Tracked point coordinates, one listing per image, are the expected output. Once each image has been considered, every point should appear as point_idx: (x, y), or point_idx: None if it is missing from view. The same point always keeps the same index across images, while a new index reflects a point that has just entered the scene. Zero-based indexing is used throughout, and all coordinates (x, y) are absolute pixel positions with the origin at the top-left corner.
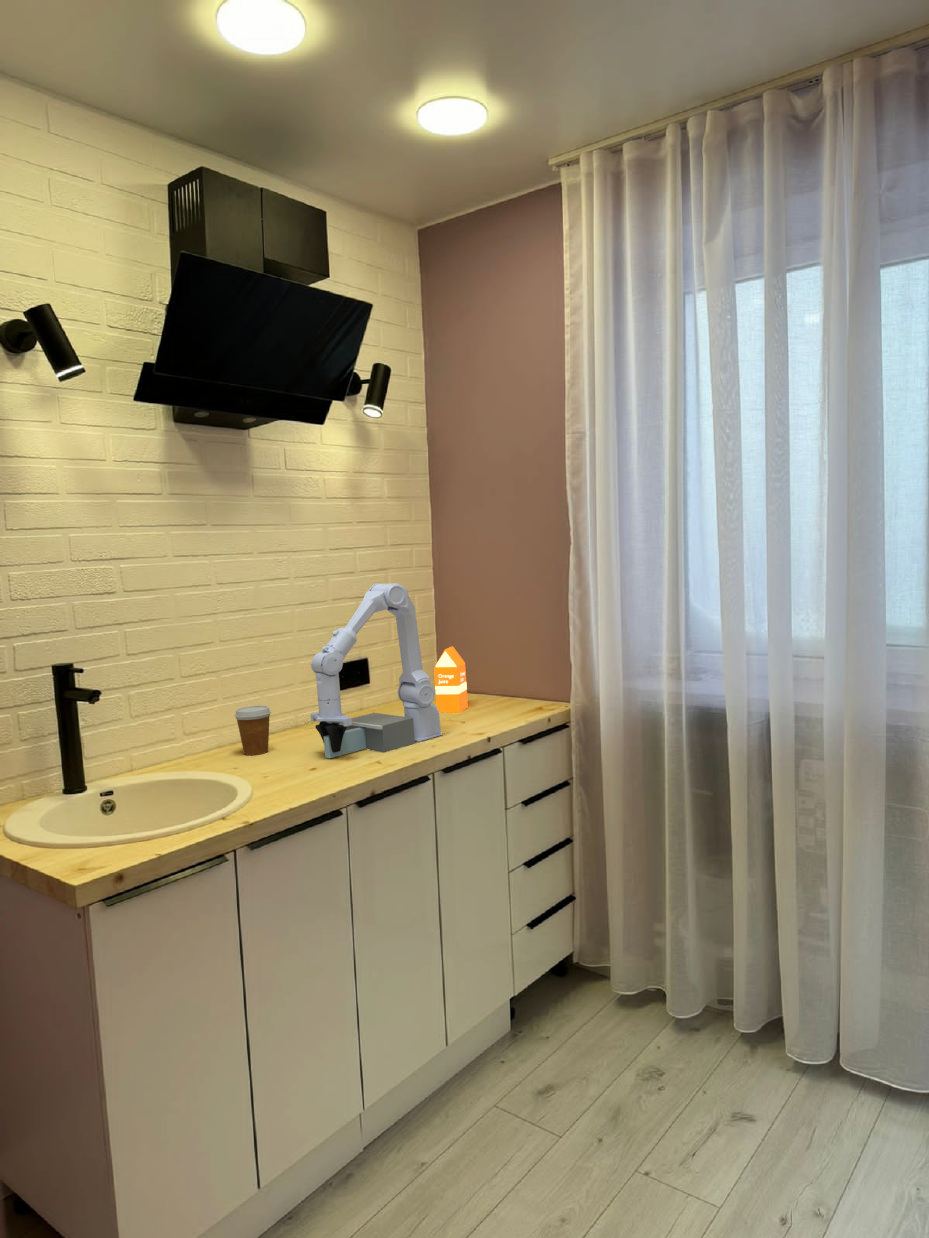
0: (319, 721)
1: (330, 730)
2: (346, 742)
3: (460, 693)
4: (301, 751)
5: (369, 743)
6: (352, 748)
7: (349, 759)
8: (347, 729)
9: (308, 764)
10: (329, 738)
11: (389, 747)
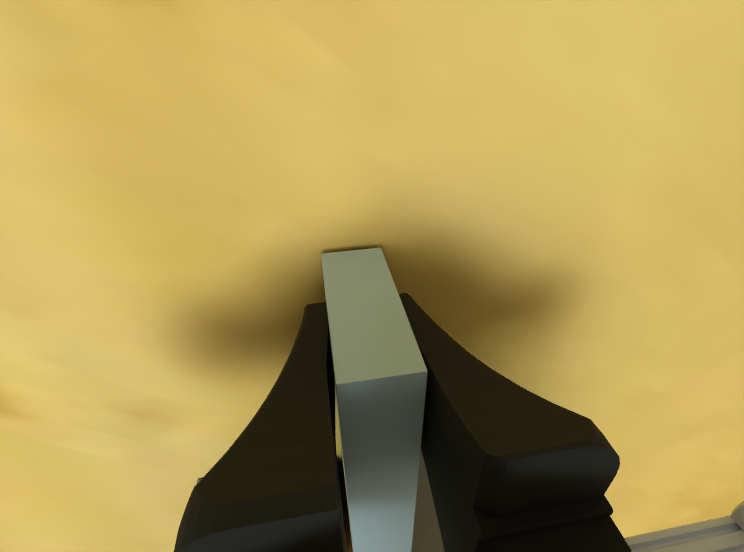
0: (647, 535)
1: (228, 476)
2: (340, 435)
3: None
4: (682, 251)
5: None
6: (338, 419)
7: (202, 325)
8: None
9: (340, 38)
10: (335, 379)
11: None
